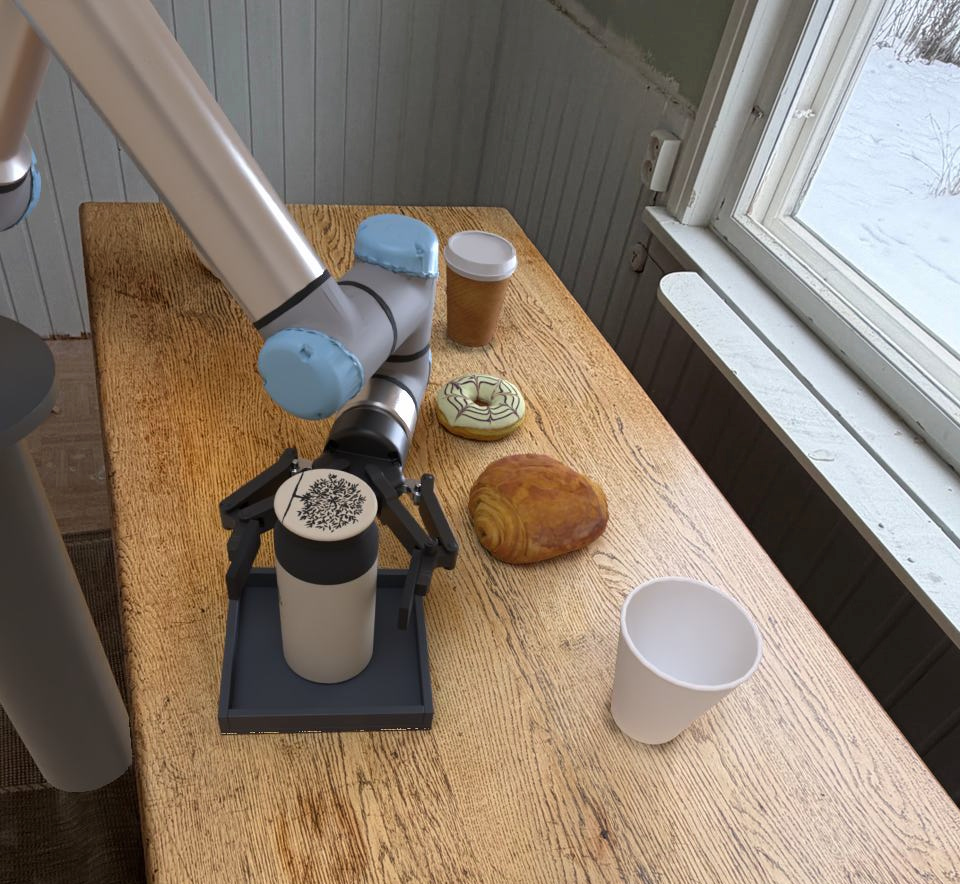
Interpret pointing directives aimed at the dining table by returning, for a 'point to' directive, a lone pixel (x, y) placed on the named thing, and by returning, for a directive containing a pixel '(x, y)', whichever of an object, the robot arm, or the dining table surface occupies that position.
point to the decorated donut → (480, 407)
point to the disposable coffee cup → (476, 284)
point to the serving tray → (322, 706)
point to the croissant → (535, 508)
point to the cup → (679, 656)
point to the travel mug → (326, 573)
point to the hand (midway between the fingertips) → (317, 604)
